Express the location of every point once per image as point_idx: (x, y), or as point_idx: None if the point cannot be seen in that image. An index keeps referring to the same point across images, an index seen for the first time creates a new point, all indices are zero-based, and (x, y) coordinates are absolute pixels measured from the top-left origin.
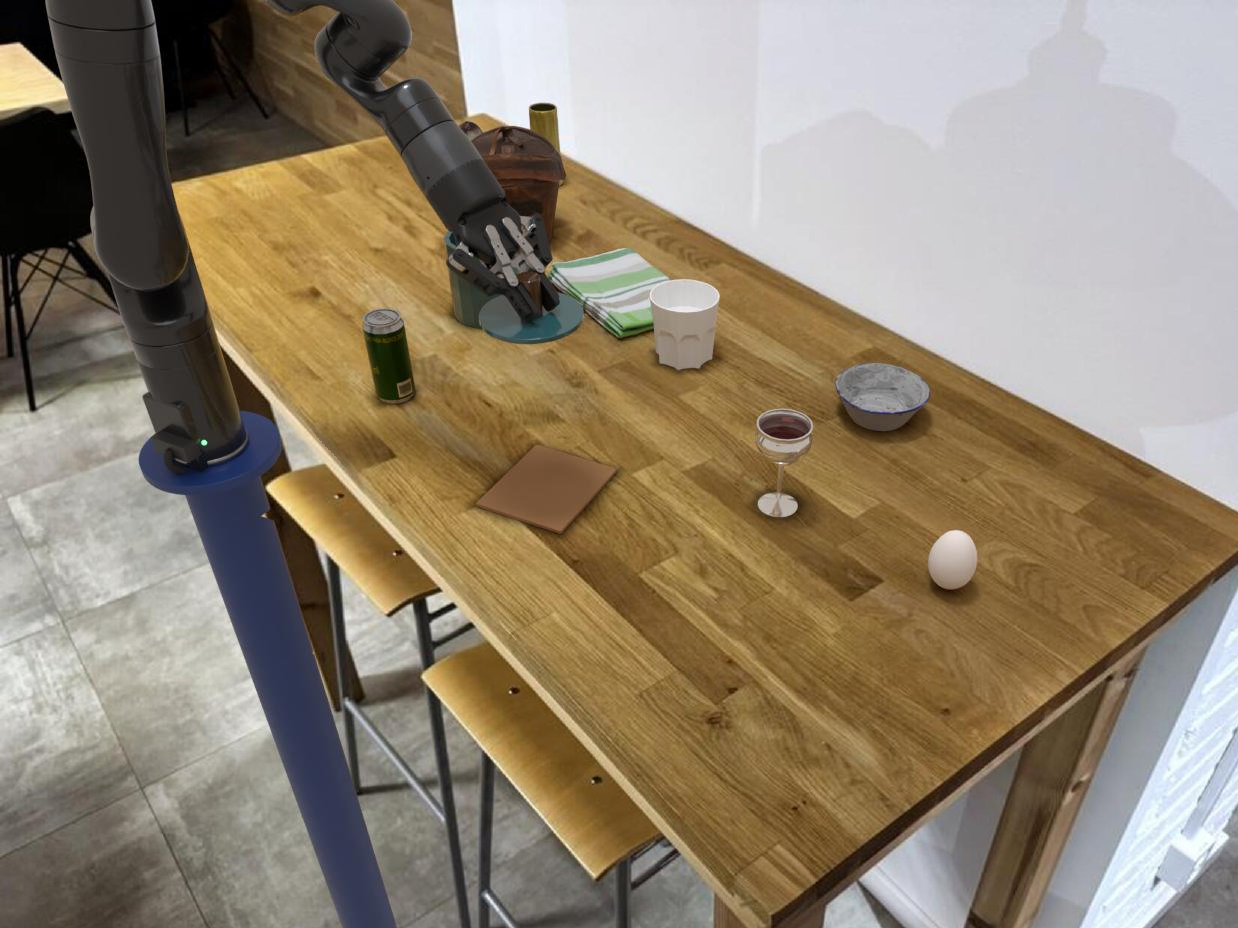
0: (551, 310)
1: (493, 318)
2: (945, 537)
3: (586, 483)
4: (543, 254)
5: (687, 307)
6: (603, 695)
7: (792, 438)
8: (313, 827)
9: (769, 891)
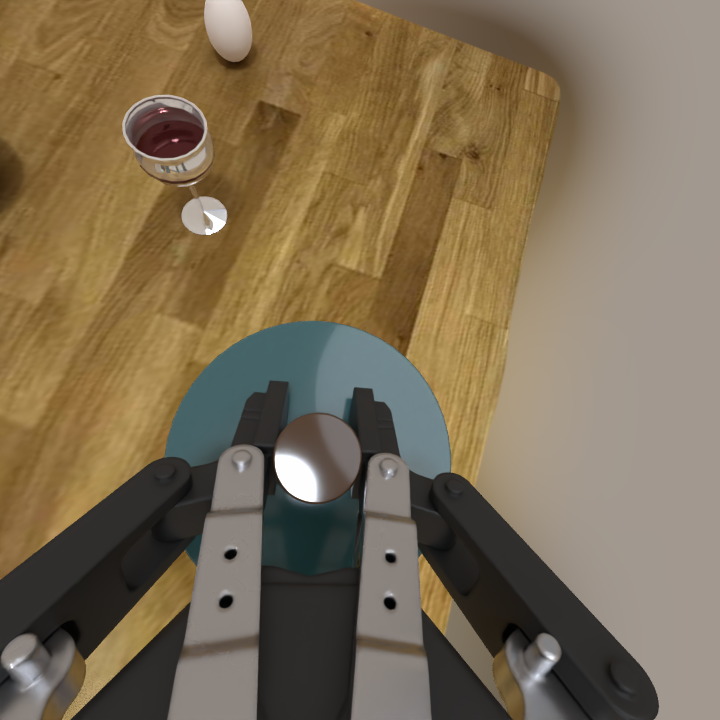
0: None
1: None
2: (228, 2)
3: None
4: (169, 490)
5: None
6: (507, 229)
7: (161, 144)
8: None
9: (552, 83)
